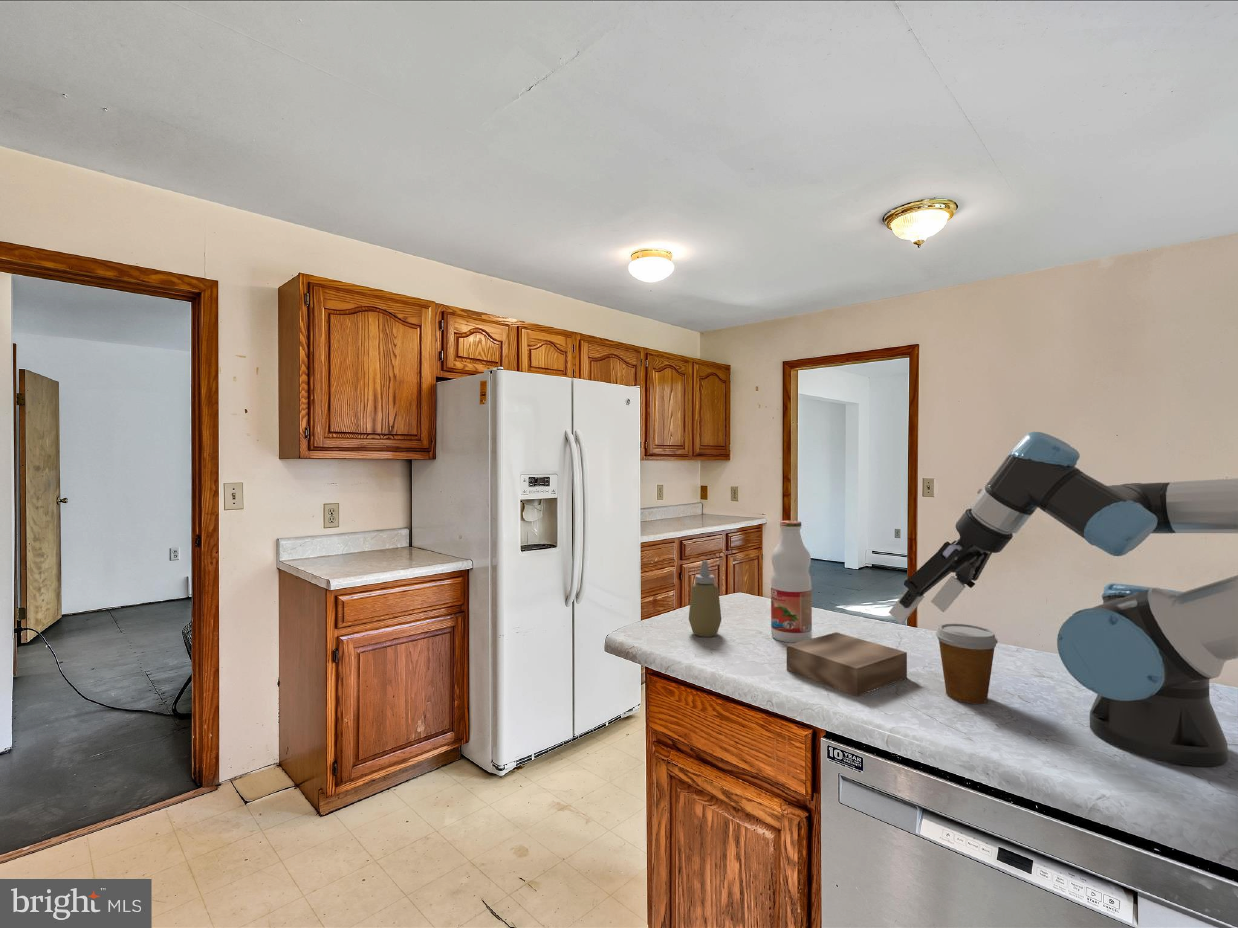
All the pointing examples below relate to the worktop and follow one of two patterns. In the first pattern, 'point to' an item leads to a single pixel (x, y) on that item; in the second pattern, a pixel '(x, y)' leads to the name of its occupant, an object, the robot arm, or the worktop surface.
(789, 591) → the fruit juice
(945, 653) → the disposable coffee cup
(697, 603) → the squeeze bottle
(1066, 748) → the worktop surface
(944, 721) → the worktop surface
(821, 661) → the walnut base
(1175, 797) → the worktop surface
